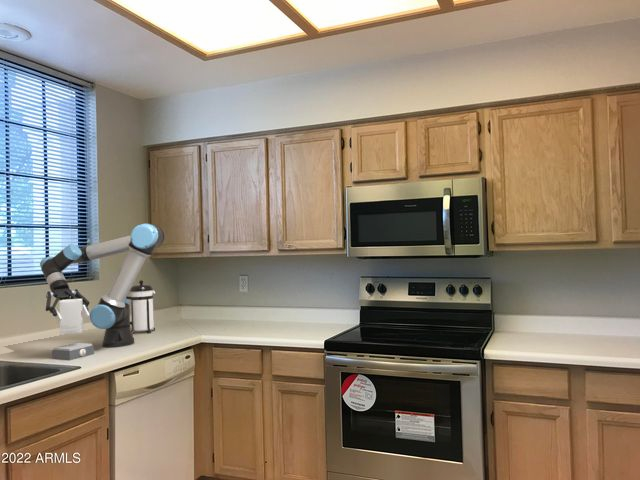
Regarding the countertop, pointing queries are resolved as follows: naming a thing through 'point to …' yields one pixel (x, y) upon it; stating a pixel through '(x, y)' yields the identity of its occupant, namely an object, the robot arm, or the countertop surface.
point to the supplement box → (71, 316)
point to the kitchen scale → (72, 351)
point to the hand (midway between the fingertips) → (74, 319)
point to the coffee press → (142, 308)
